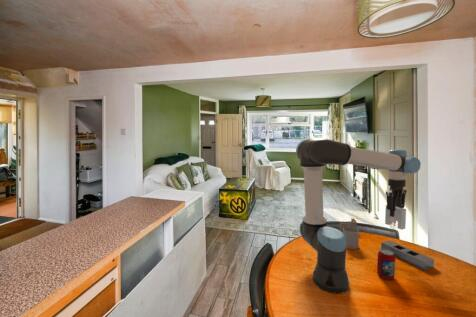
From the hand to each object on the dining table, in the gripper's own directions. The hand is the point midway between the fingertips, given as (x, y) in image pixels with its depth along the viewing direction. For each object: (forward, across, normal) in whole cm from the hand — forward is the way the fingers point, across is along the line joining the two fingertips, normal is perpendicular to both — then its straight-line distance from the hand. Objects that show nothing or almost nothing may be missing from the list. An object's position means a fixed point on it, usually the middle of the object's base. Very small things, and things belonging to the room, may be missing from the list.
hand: (395, 221), depth 117 cm
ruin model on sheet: (+20, +1, +31) cm, 37 cm away
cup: (+19, -12, +18) cm, 29 cm away
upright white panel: (+3, 0, 0) cm, 3 cm away
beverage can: (+19, -22, -10) cm, 31 cm away
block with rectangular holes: (+19, +3, -4) cm, 20 cm away
